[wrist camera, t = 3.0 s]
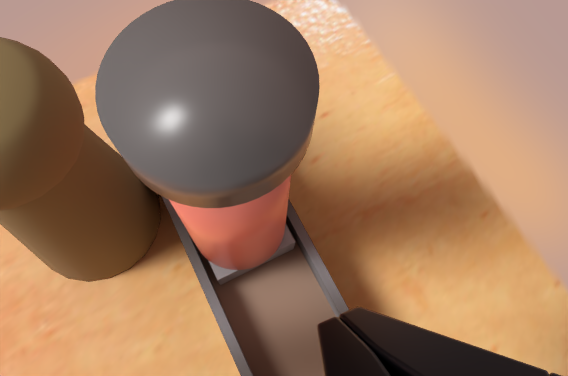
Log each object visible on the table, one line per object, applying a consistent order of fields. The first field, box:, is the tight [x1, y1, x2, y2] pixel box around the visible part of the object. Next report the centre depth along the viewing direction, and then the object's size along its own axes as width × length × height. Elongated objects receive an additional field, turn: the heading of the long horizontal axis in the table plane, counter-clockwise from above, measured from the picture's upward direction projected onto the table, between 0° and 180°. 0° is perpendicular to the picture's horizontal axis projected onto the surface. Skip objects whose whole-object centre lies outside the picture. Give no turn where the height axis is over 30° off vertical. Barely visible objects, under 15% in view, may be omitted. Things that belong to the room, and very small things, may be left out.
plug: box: [96, 0, 319, 285], centre depth 15 cm, size 5×5×12 cm
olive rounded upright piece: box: [0, 37, 161, 282], centre depth 17 cm, size 6×6×11 cm
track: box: [162, 196, 349, 376], centre depth 21 cm, size 16×5×2 cm, turn 27°
